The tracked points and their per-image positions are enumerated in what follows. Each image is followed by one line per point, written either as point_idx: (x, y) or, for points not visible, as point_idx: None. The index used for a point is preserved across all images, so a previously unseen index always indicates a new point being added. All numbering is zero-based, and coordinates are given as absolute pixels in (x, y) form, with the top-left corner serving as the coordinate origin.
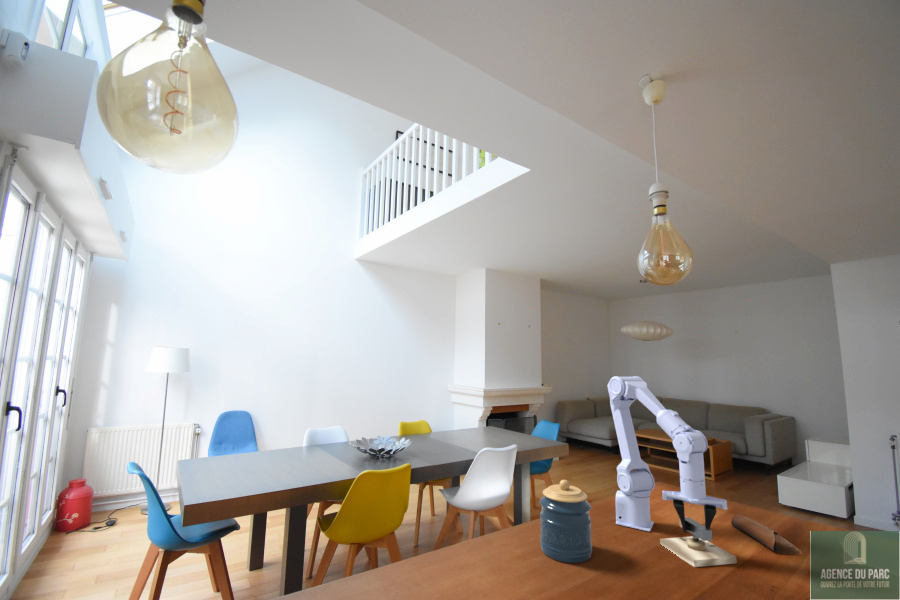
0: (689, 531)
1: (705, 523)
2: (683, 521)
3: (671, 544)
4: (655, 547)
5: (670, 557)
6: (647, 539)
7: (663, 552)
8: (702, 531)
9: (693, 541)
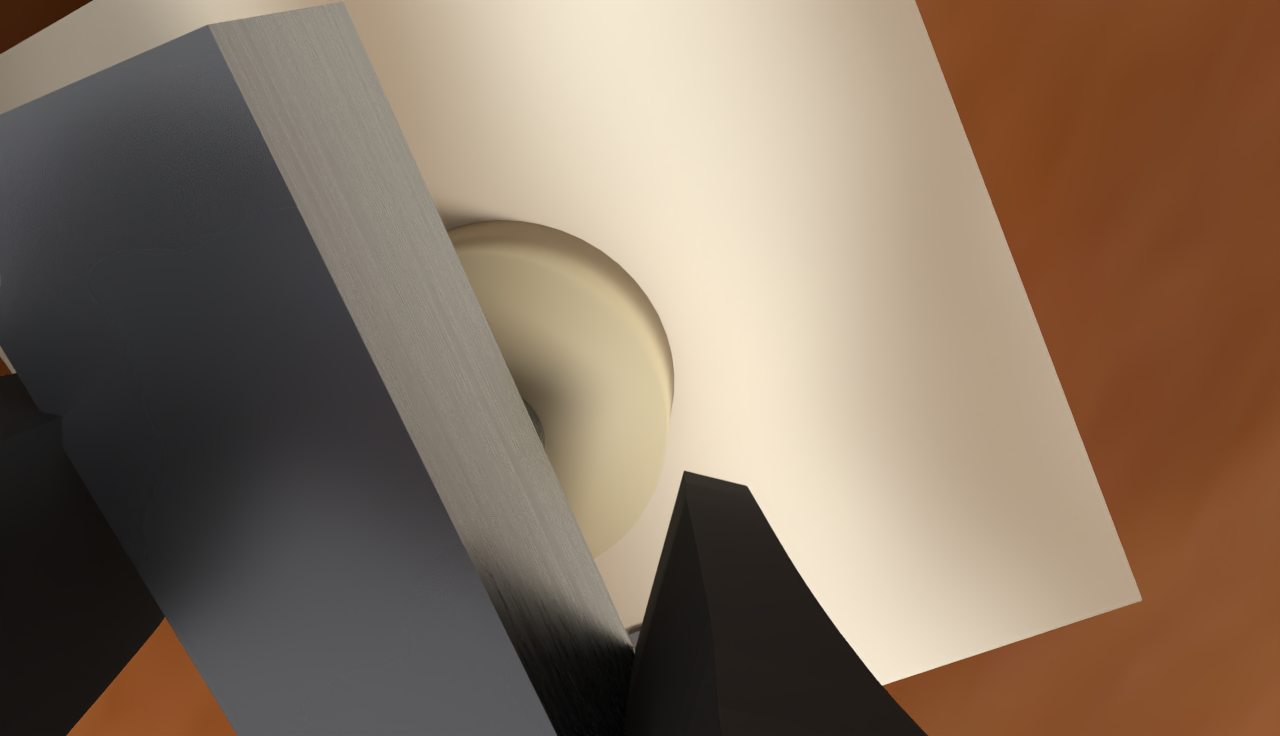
0: (581, 546)
1: (17, 613)
2: (762, 609)
3: (996, 387)
4: (1251, 410)
5: (1120, 17)
6: (1261, 704)
7: (1177, 223)
8: (244, 55)
9: (548, 398)
